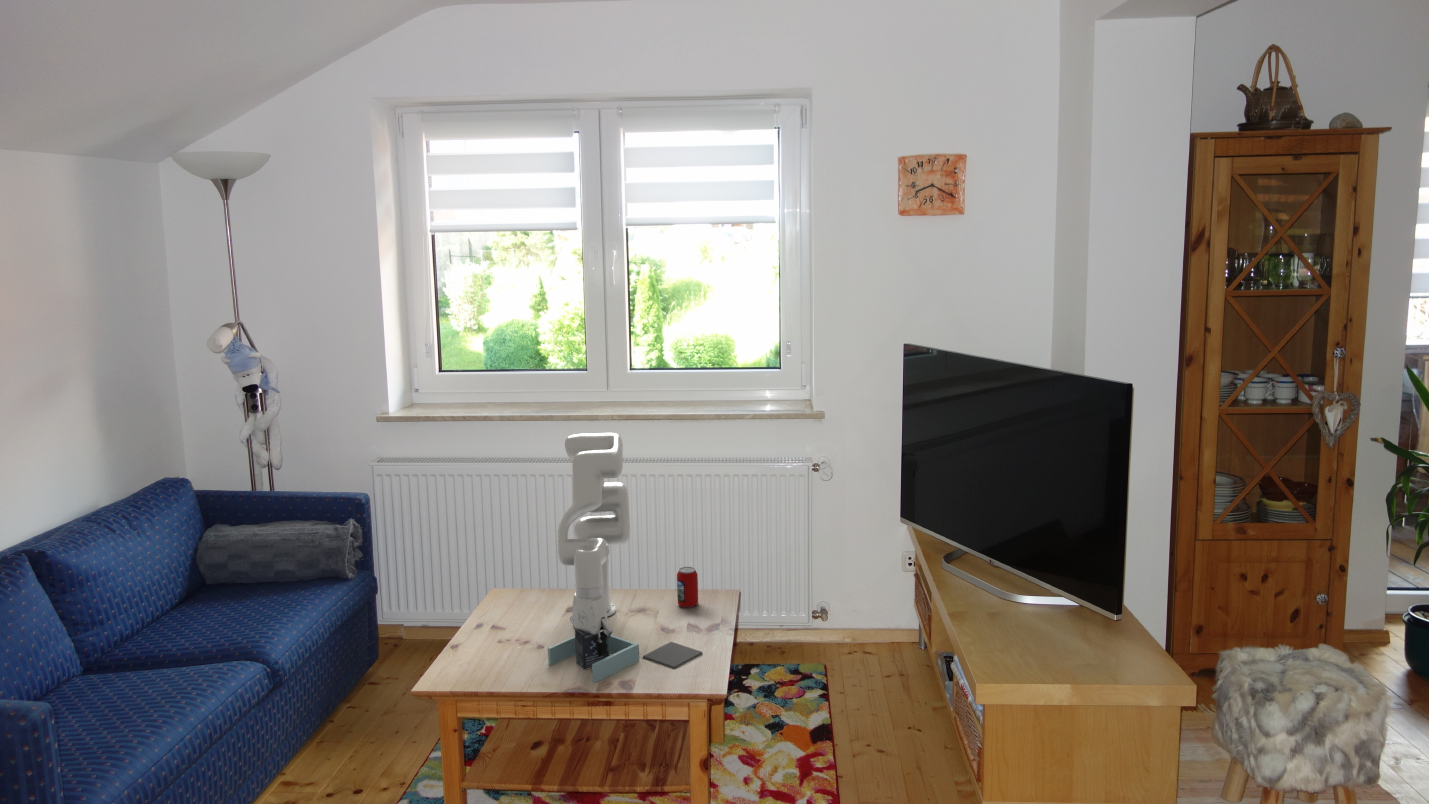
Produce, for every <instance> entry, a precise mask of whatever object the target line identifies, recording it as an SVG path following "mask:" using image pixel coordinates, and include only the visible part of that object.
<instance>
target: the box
mask: <svg viewBox="0 0 1429 804" xmlns="http://www.w3.org/2000/svg"><path fill="white" fill-rule="evenodd" d="M600 630H601V629H600ZM574 636H575V645H576V654H575V663H576V664H577V665H578V666H579V668H582V669H583V671H586V670H588V669H590V668H591V669H592V664H594V663H596V662H598V661H600V660H602V659H604V658H606V657H608V656H610V654H609V653H610V652H609V647H608V640H606V641H607V653H605V654H603V655H601V656H598V655H597V642H598V639H597V637H596V634H590V633H588V632H585V631H582V630H579V629H577V628H575V629H574ZM600 636H601V637H602V636H603V635H602V632H600Z"/></svg>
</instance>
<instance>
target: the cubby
mask: <svg viewBox="0 0 1429 804" xmlns="http://www.w3.org/2000/svg"><path fill="white" fill-rule="evenodd" d="M639 645H640V643H637V642H634V641H631V640H628V639H625V638H622V637H619V636H616V635H613V634H611V635H610V637H609V638H608V647H609V653H611V654H609V656H608V657H606V658H604V659H602V660H600V661H598V662H596V663H594V664H592V668H591V670H592V671H591V672H592V683H599V682H600V681H603V680H604V679H606V678H608V677H611V676H612V675H615V674H616V673H617V672H620V671H622V670H624V669H625V668H627V667H630V666H631V665H634V664H635V663H638V662H639V661H640V646H639ZM572 656H576V645H575V635H573V636H571V637H569V638H566V639H564V640H562V641H560V642H558V643H555V644H553V645H550V646H548V647H547V660H548V665H549V666H552V665H553V666H554V665H555V664H557V663H559V662H562V661H564V660H566V659H568V658H571V657H572Z"/></svg>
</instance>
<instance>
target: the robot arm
mask: <svg viewBox="0 0 1429 804" xmlns="http://www.w3.org/2000/svg"><path fill="white" fill-rule="evenodd" d="M623 449H624V447H623V440H622V438H621V435H619V434H618V433H615V432H600V433H599V432H597V433H594V432H593V433H592V432H589V433H577V434H571V435H568V436H567V437H566V438H565V441H564V450H565V452H566V454H567V457H568V458H569V460H570V462H571V463H572V466H571V468H572V469H571V470H572V504H571V506H570V507H569V508H568V509H567V511H566V512H565V513H564V514H563V515H562V518H561V519H560V522H559V525H558V529H557V555H558V561H559V562H560V564H562V565H563V566H566V567H574V568H573V569H574V587H575V589H574V590H575V593H574V595H573V598H572V599H573V600H572V609H571V610H572V612H571V613H572V615H571V616H569V621H570V623H571V624H572V627H573V630H575V628H577V629H579V630H582V631H585V632H588V633H590V634H596V637H597V639H598V642H597V655H598V656H601V655H603V654H605V653H607V641H606V640H608V638H609V637H610V635H612V634H613V632H614V630H613V627H611V625H610V623H608V617H609V616H610V617H611V616H612V615H614V614H615V613H616V611H617V606H616V605H615V604H614V603H612V602H611V601H612V600H611V586H610V585H611V583H610V581H611V579H610V561H609V559H610V558H609V556H610V547H611V546H620V545H625V544H627V543H628V542H629V541H630V538H631V522H630V521H631V519H630V503H629V492H628V488H627V486H626V485H625V483H623V482H620V481H606V482H605V480H604V479H617V478H619V477H620V476H621V474H622V472H623V461H624V457H623V451H624V450H623ZM599 513H601V514H602V513H603V514H604V513H613V514H612V515H611V514H609V515H608V514H607V515H590V516H589V515H588V516H584V515H585V514H599ZM582 516H584V517H582ZM580 517H581V518H580ZM577 519H578V520H577ZM576 520H577V521H576ZM575 521H576V522H575ZM574 522H575V524H574V530H573V531H574V532H573V533H574V538H569V537H568V535H569V529H570V527H571V525H572V524H573V523H574ZM600 629H601V630H600ZM600 632H602V635H603V636H602V637H601V636H600Z"/></svg>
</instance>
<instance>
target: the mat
mask: <svg viewBox="0 0 1429 804" xmlns="http://www.w3.org/2000/svg"><path fill="white" fill-rule="evenodd" d="M701 655H703V651H701V650H697V649H695V648H692V647H689V646H686V645H683V644H679V643H676V642H673V641H669V642H668V643H665V644H664V645H662V646H659V647H657V648H656V649H654V650H651V651H650V652H647V653H645V654H644V655H643V656H642V659H645V660H648V661H651V662H653V663H657V664H659V665H662V666H666V667H667V668H668V667H669V668H670V669H677V668H679V667H681V666H682V665H685V664H687V663H689V662H690V661H692V660H693V659H696V658H697V657H699V656H701Z"/></svg>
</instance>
